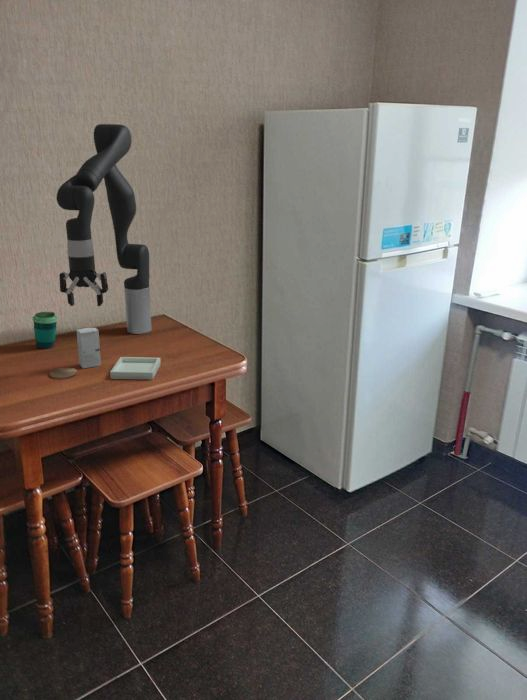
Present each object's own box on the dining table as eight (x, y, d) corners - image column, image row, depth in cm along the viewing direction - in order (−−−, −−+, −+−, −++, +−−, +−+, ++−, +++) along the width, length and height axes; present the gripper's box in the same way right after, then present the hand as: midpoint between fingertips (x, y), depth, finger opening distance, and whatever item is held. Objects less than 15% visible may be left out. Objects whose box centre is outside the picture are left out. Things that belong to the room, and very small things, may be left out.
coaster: (55, 369, 181) (55, 367, 181) (80, 369, 181) (80, 367, 181) (46, 378, 173) (45, 376, 173) (72, 379, 173) (72, 377, 173)
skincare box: (83, 369, 181) (79, 333, 177) (78, 364, 185) (75, 329, 181) (102, 365, 184) (98, 330, 180) (97, 361, 188) (94, 326, 184)
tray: (121, 363, 186) (120, 357, 186) (160, 363, 186) (160, 357, 186) (110, 378, 174) (110, 371, 173) (152, 379, 174) (152, 372, 173)
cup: (46, 341, 206) (42, 309, 201) (65, 344, 203) (61, 312, 199) (31, 348, 198) (26, 315, 194) (50, 351, 196) (46, 318, 192)
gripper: (107, 252, 176) (111, 302, 181) (61, 251, 176) (67, 302, 181) (101, 256, 169) (105, 309, 174) (53, 255, 169) (59, 308, 174)
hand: (85, 305), depth 178 cm, fingers open, 8 cm apart
